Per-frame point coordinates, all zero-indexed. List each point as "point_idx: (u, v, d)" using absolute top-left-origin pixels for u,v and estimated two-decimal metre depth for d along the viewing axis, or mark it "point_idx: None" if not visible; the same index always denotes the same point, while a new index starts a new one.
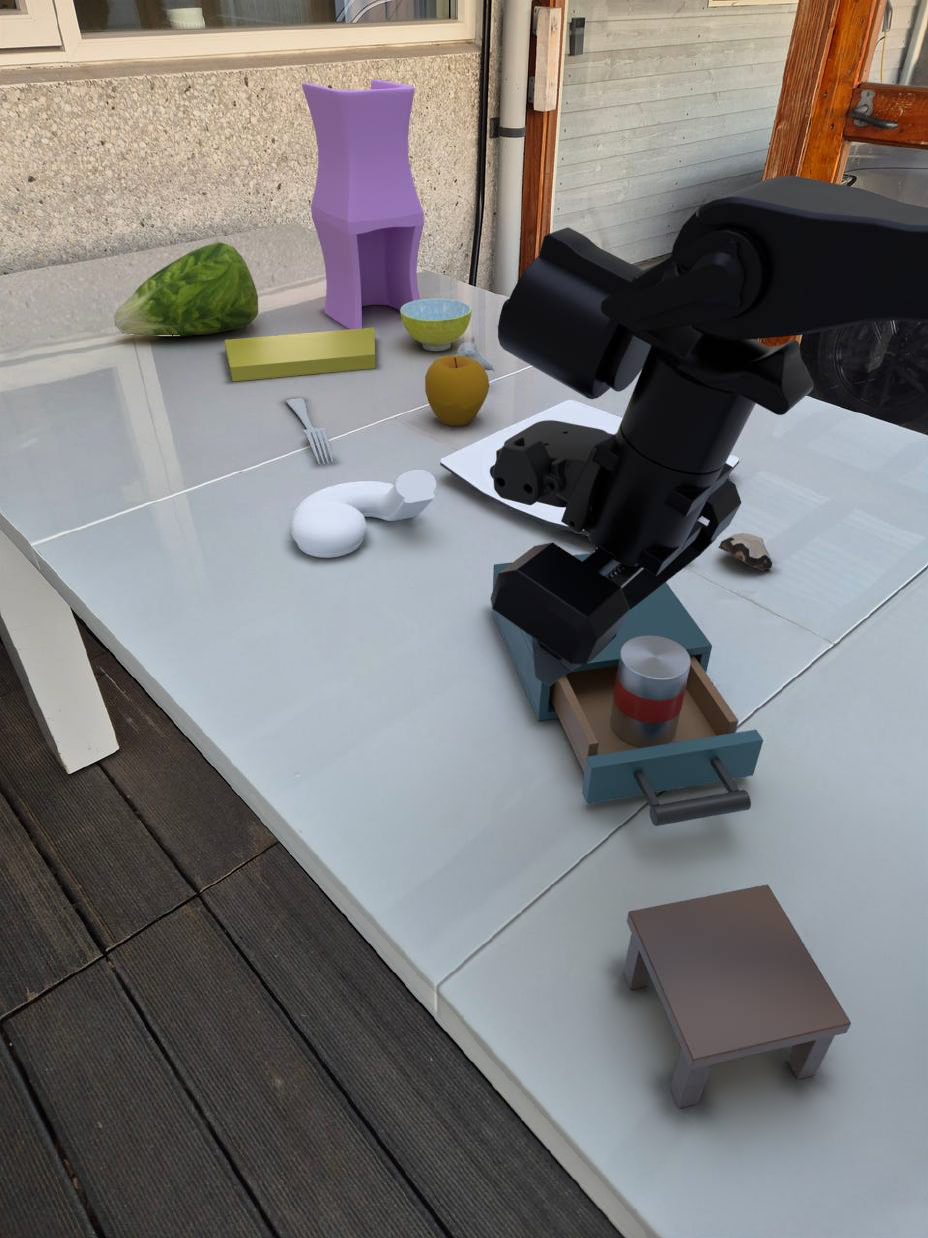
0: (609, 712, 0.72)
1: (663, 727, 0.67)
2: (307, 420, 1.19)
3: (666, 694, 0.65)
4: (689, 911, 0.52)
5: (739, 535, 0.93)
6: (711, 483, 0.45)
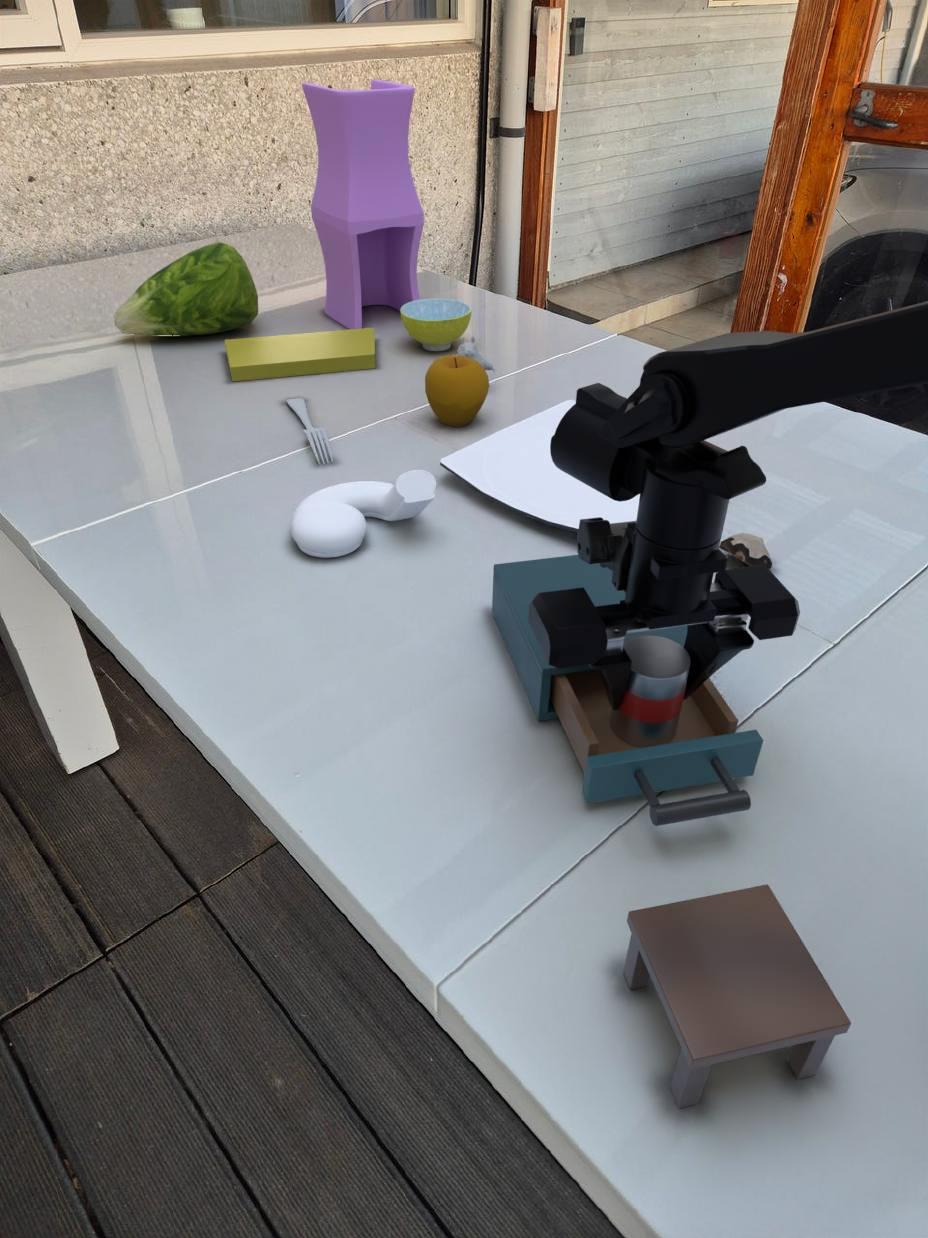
0: (609, 712, 0.72)
1: (663, 727, 0.67)
2: (307, 420, 1.19)
3: (665, 694, 0.65)
4: (689, 911, 0.52)
5: (739, 535, 0.93)
6: (689, 561, 0.58)
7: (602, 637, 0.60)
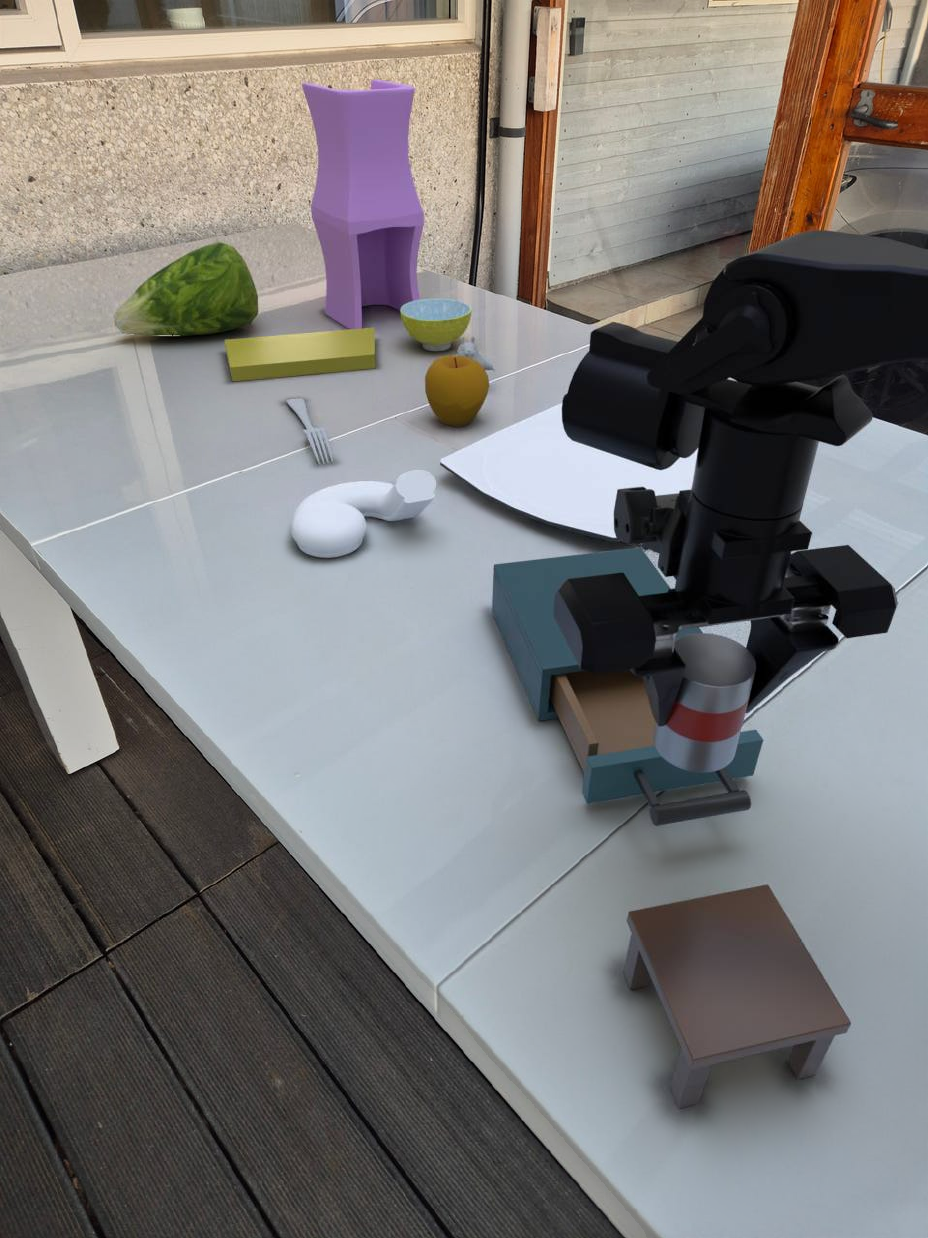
0: (609, 712, 0.72)
1: (721, 747, 0.54)
2: (307, 420, 1.19)
3: (726, 706, 0.52)
4: (689, 911, 0.52)
5: None
6: (763, 535, 0.45)
7: (649, 634, 0.47)
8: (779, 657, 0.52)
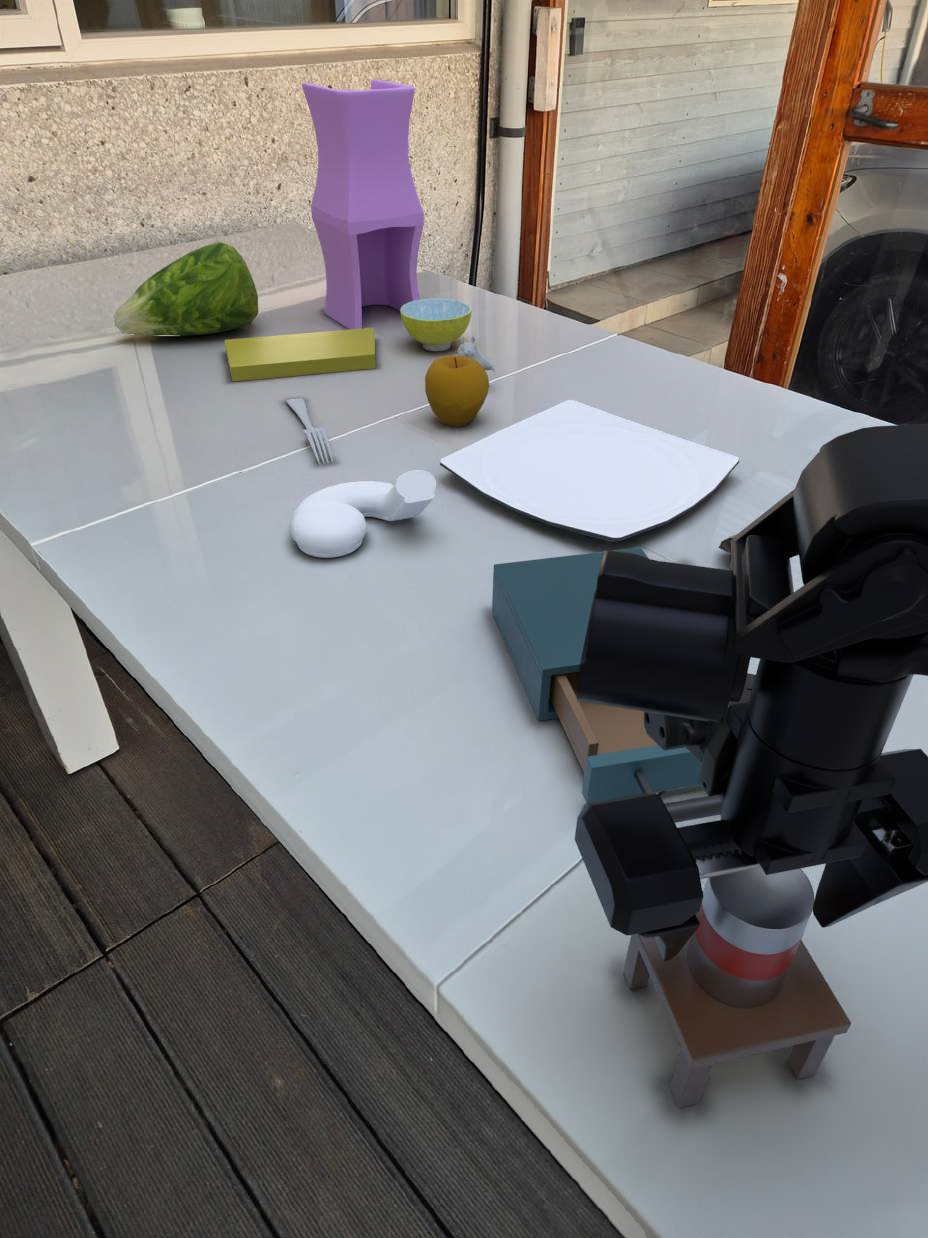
0: (609, 712, 0.72)
1: (771, 984, 0.46)
2: (307, 420, 1.19)
3: (779, 948, 0.44)
4: None
5: None
6: (838, 785, 0.37)
7: (695, 890, 0.39)
8: (875, 883, 0.44)
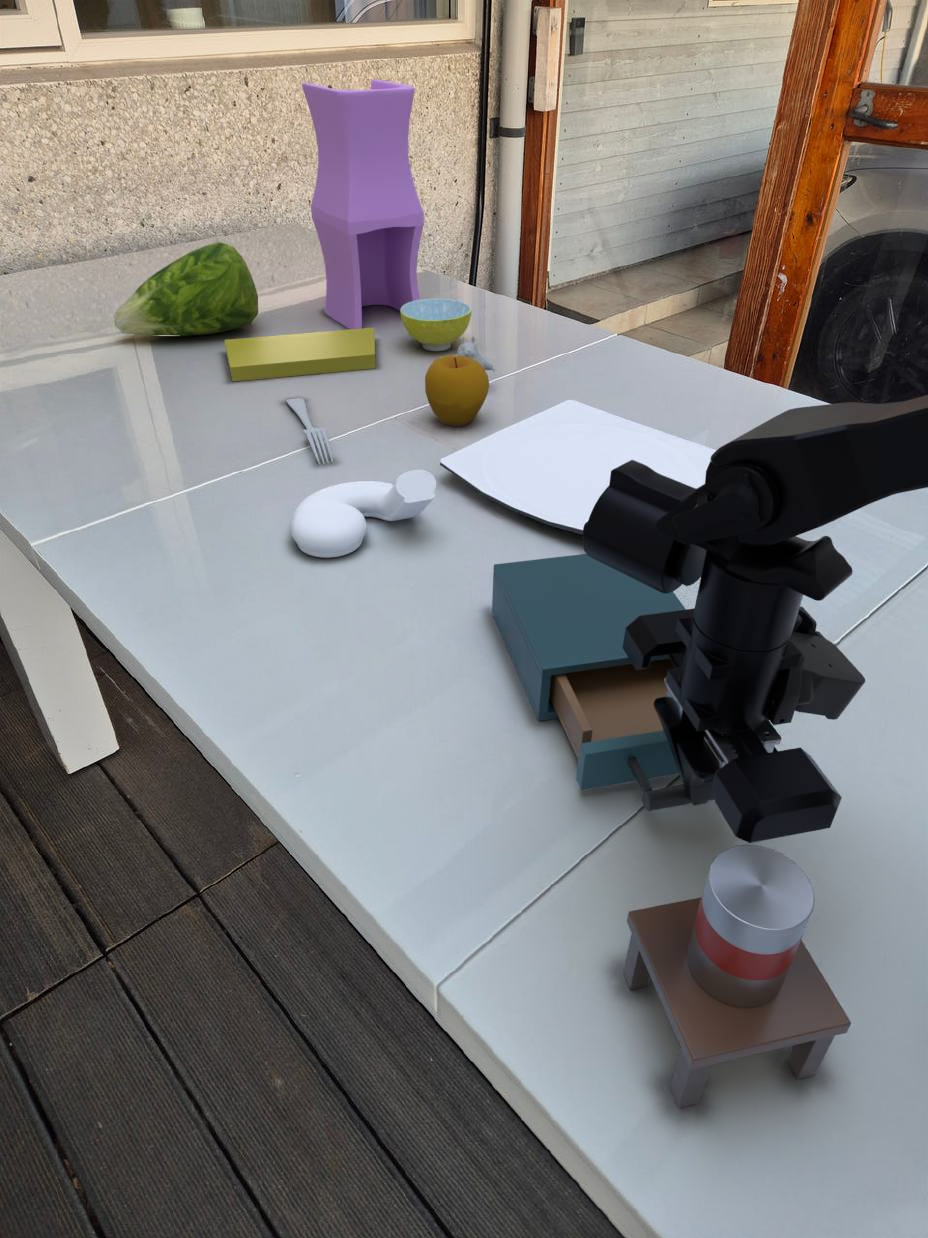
0: (603, 701, 0.73)
1: (771, 984, 0.46)
2: (307, 420, 1.19)
3: (779, 948, 0.44)
4: (689, 911, 0.52)
5: None
6: (692, 635, 0.53)
7: (645, 650, 0.60)
8: None
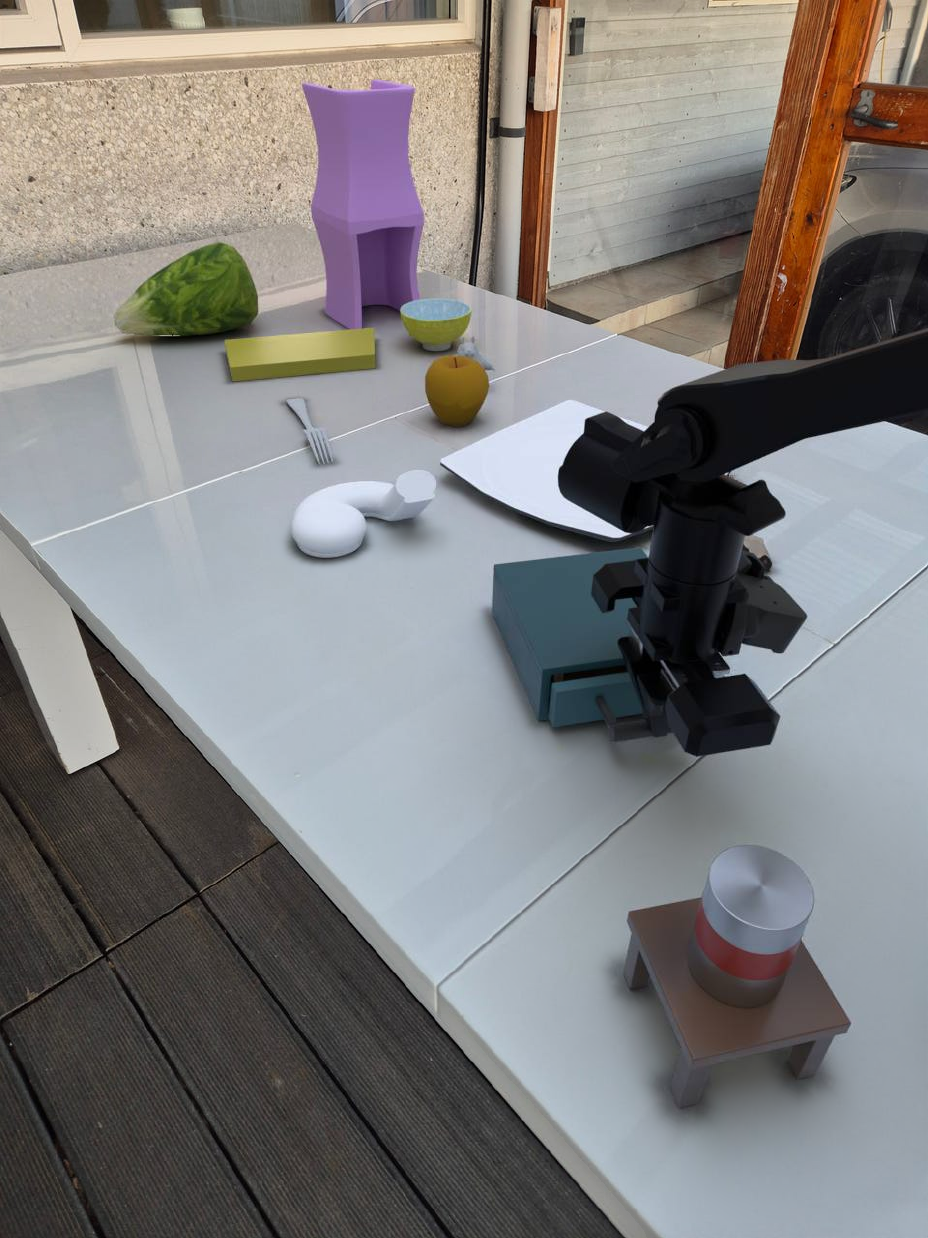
0: None
1: (771, 984, 0.46)
2: (307, 420, 1.19)
3: (779, 948, 0.44)
4: (689, 911, 0.52)
5: None
6: (648, 573, 0.58)
7: (610, 594, 0.66)
8: None
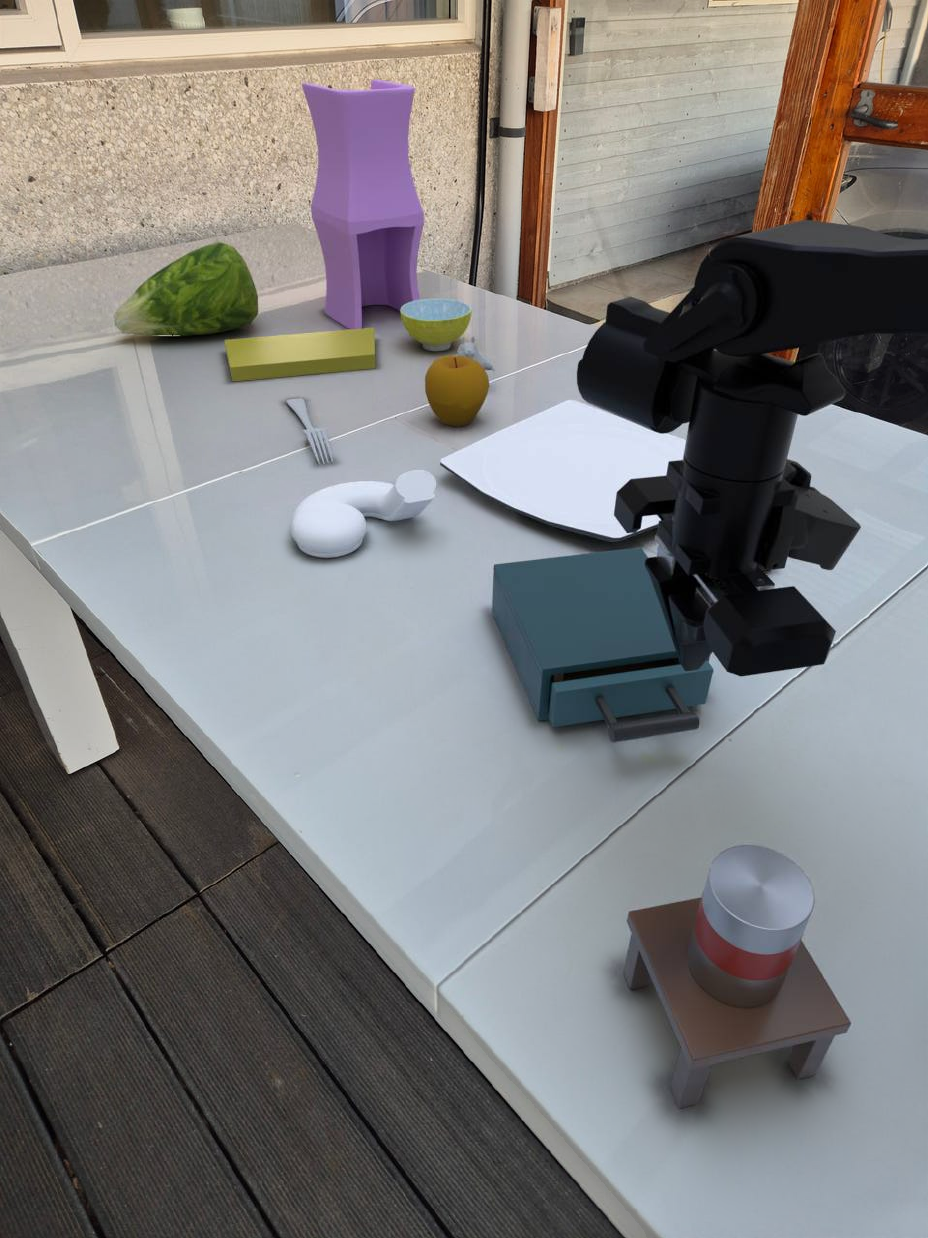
0: None
1: (771, 984, 0.46)
2: (307, 420, 1.19)
3: (779, 948, 0.44)
4: (689, 911, 0.52)
5: None
6: (683, 474, 0.52)
7: (636, 509, 0.59)
8: None
